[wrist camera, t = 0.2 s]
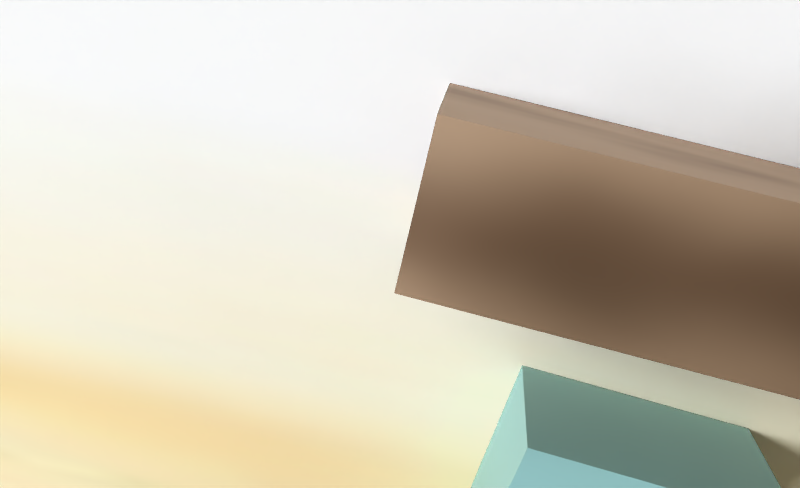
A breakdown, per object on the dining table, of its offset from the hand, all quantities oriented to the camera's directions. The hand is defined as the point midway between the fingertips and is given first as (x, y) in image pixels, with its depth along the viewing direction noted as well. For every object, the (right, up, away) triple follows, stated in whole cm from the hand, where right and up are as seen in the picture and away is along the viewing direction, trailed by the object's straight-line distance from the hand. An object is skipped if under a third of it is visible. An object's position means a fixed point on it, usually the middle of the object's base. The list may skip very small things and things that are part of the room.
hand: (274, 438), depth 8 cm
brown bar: (+14, +3, +13) cm, 19 cm away
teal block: (+11, -8, +19) cm, 23 cm away
